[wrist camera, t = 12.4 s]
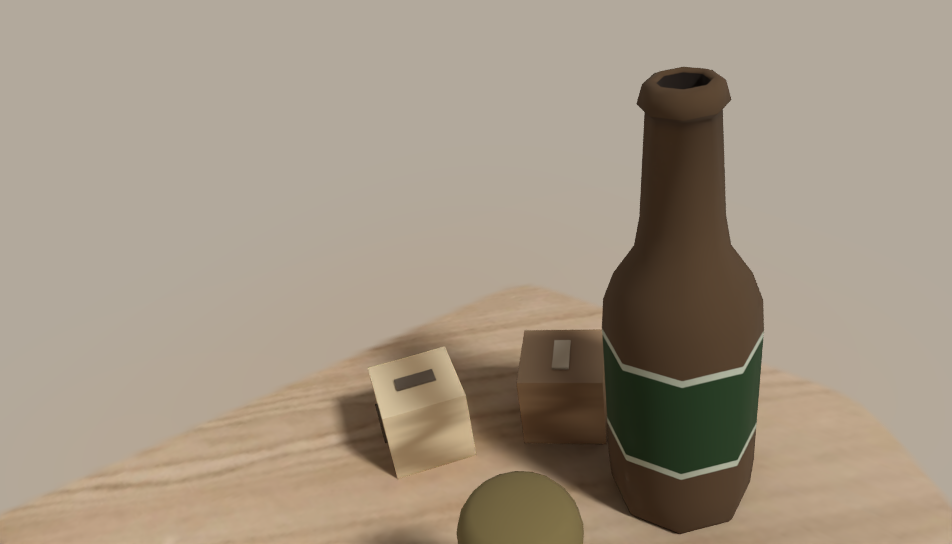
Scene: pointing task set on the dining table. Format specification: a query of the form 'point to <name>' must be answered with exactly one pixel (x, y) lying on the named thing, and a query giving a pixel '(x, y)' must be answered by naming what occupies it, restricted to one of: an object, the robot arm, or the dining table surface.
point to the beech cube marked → (422, 411)
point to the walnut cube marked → (562, 387)
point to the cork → (520, 512)
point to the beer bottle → (682, 322)
